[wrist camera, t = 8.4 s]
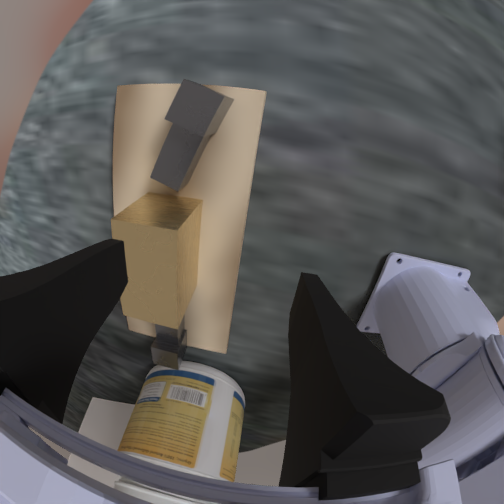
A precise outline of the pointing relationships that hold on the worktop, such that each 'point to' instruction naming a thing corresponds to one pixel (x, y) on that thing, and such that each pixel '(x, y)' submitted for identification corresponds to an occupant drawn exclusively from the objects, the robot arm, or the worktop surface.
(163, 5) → the worktop surface
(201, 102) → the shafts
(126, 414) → the milk
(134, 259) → the gold rectangular block
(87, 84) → the worktop surface
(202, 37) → the worktop surface
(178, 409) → the supplement tub
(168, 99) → the wooden board
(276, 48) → the worktop surface
